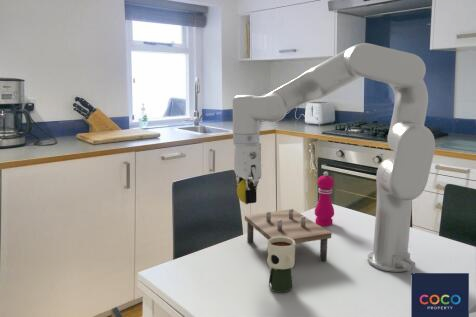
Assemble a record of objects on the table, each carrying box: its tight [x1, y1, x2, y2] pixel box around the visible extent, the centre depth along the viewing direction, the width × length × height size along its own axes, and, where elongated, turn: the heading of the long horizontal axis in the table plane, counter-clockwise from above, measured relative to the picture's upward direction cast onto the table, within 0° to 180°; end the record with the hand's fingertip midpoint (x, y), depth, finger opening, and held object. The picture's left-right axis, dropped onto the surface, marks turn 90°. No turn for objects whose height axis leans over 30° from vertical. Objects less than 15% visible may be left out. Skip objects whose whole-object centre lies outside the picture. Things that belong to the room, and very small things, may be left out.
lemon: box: [236, 179, 252, 205], centre depth 124 cm, size 6×6×8 cm
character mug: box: [266, 237, 296, 293], centre depth 110 cm, size 11×7×13 cm, turn 25°
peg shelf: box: [244, 208, 332, 263], centre depth 133 cm, size 24×18×12 cm
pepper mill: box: [314, 171, 335, 227], centre depth 157 cm, size 7×7×20 cm
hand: (246, 199), depth 124 cm, fingers closed on lemon, 5 cm apart
